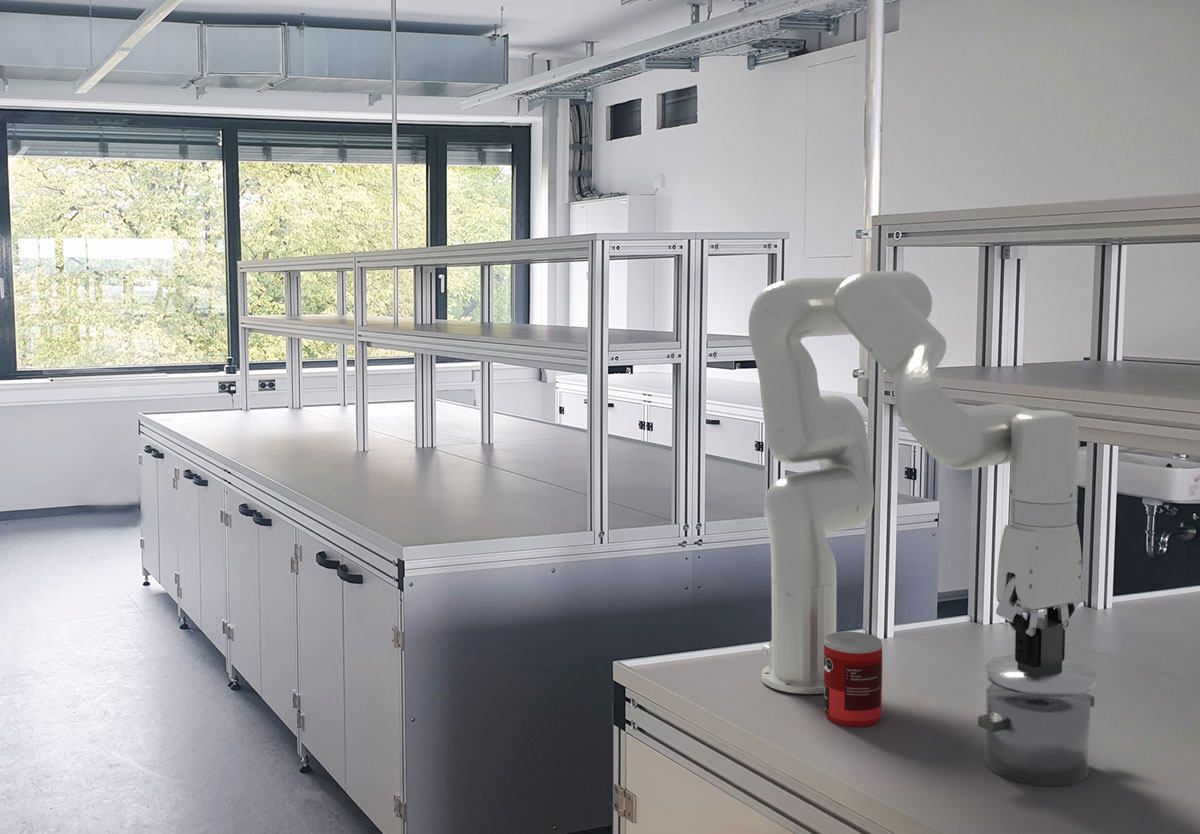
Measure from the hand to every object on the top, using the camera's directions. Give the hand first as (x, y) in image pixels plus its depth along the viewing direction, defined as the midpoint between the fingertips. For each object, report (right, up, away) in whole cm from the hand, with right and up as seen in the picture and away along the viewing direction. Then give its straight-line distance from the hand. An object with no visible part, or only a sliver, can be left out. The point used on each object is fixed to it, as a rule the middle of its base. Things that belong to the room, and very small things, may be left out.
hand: (1039, 659), depth 145 cm
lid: (0, -2, 0) cm, 2 cm away
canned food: (-19, -12, +19) cm, 29 cm away
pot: (0, -13, +2) cm, 14 cm away
